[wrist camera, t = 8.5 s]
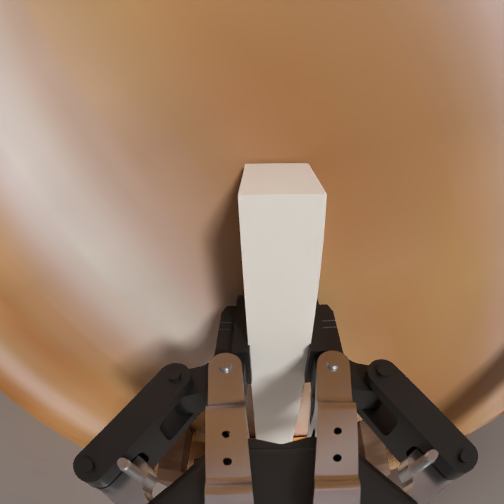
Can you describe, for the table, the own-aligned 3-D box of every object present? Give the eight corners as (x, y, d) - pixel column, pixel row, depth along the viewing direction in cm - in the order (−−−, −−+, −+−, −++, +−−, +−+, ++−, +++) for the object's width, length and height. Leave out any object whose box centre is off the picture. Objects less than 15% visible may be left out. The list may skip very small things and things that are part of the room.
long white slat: (376, 166, 10) (416, 197, 7) (312, 439, 24) (314, 470, 21) (174, 168, 11) (141, 200, 8) (231, 440, 24) (228, 471, 21)
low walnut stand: (379, 418, 22) (390, 474, 17) (347, 460, 29) (352, 499, 24) (167, 422, 23) (156, 479, 18) (197, 463, 30) (192, 502, 25)
